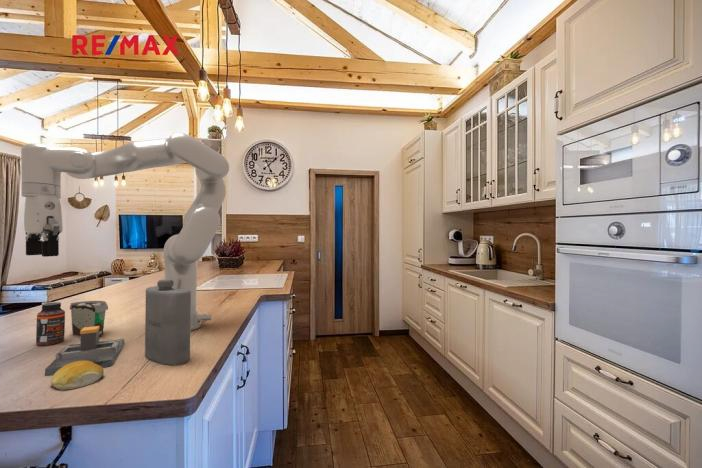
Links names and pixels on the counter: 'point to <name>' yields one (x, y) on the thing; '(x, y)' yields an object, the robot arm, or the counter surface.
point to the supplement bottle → (50, 324)
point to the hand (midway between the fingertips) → (42, 255)
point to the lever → (90, 337)
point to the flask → (167, 323)
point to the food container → (87, 315)
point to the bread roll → (76, 375)
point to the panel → (87, 355)
